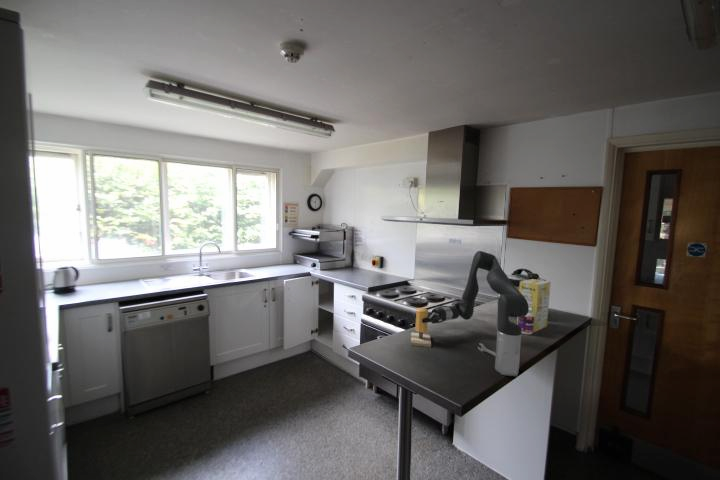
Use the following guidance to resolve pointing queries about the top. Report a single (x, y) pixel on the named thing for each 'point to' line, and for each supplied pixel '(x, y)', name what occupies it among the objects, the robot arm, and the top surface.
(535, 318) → the pasta box
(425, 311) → the octagonal lidded canister
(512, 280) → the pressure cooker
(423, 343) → the post board
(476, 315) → the top surface
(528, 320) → the pill bottle
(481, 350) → the combination wrench
